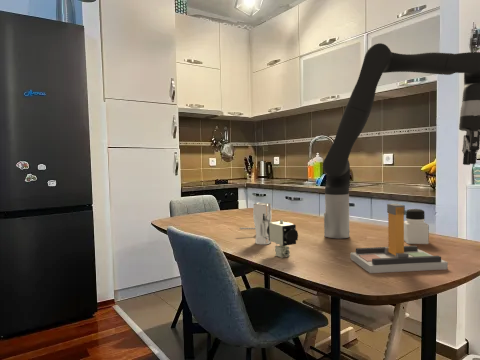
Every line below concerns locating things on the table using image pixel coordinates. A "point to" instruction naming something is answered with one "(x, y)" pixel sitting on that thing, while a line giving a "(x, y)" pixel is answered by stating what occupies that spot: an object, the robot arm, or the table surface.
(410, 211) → the medicine bottle
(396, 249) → the lever
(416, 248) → the dark grey mounting rails
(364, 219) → the table surface
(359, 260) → the breaker panel
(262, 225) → the beer glass
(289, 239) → the pneumatic valve
